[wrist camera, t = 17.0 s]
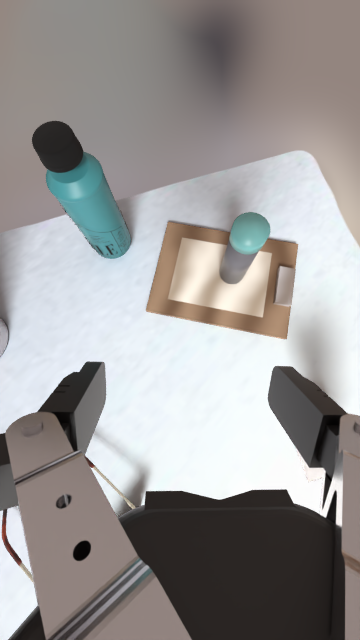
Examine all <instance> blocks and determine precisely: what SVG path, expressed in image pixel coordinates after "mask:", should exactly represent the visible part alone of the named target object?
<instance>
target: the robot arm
mask: <svg viewBox="0 0 360 640" xmlns="http://www.w3.org/2000/svg"><path fill="white" fill-rule="evenodd" d="M7 342H8V330H7V327H6V324H5V323H4V321H3V320H2V319H1V318H0V356H1V355H2V354H3V352H4V350H5V348H6V346H7ZM105 400H106V378H105V364H104V362H86V363H85V365H84V366H83V367H82V369H81V370H80V372H73V373H71V374H70V375H68V376H67V377H65V378H64V379H63V380H62V381H61V382H60V384H59V385H58V387H57V388H56V389H55V390H54V392H53V393H52V394H51V395H50V396H49V398H48V399H47V400H46V401H45V403H44V404H43V405H42V407H41V408H40V409H39V410H38V412H36V413H32V414H28V415H26V416H23V417H21V418H19V419H18V420H16V421H15V422H13V423H12V424H11V425H10V426H9V427H8V429H7V430H6V433H3V434H0V511H1V510H4V509H8V508H11V507H14V506H17V505H19V510H20V515H21V520H22V526H23V531H24V536H25V541H26V546H27V551H28V556H29V561H30V566H31V571H32V577H33V582H34V587H35V592H36V597H37V602H38V606H37V607H36V608H35V609H34V611H33V612H32V613H31V614H30V615H29V616H28V617H27V619H26V620H25V621H24V622H23V623H22V624H21V626H20V627H19V628H18V629H17V630H16V631H15V632H14V634H13V635H12V636H11V637H10V638H9V639H8V640H360V416H357V415H351V414H348V413H346V412H345V411H344V410H343V409H342V408H341V407H340V406H339V405H338V404H337V403H336V402H334V401H333V400H332V399H331V398H330V397H328V395H327V394H326V393H325V392H323V391H322V390H321V389H320V388H319V387H318V386H317V385H316V384H315V383H313V382H312V381H310V380H308V379H306V378H304V377H303V376H302V375H300V374H299V373H298V372H297V371H296V370H295V369H294V368H293V367H290V366H275V367H274V368H273V371H272V376H271V382H270V387H269V393H268V402H269V406H270V408H271V410H272V411H273V413H274V414H275V416H276V417H277V419H278V421H279V422H280V424H281V425H282V427H283V428H284V430H285V431H286V433H287V434H288V436H289V437H290V439H291V441H292V442H293V444H294V445H295V447H296V448H297V450H298V451H299V453H300V454H301V456H302V457H303V459H304V461H305V462H306V464H307V465H308V467H309V468H324V470H325V473H324V477H323V483H322V492H321V501H320V511H319V514H318V513H317V512H315V511H312V510H310V509H308V508H306V507H303V506H300V505H298V504H294V503H293V502H292V500H291V498H290V496H289V494H288V492H287V490H251V491H248V492H245V493H242V494H238V495H235V496H232V497H229V498H225V499H222V500H217V499H212V498H208V497H204V496H200V495H196V494H192V493H188V492H184V491H146V496H145V505H142V506H139V507H137V508H134V509H132V510H130V511H128V512H126V513H124V514H123V515H121V516H120V517H118V518H117V516H116V514H115V512H114V511H113V509H112V507H111V505H110V503H109V501H108V499H107V498H106V496H105V494H104V492H103V490H102V488H101V486H100V485H99V483H98V481H97V479H96V477H95V475H94V474H93V472H92V470H91V468H90V466H89V464H88V462H87V461H86V459H85V457H84V456H85V453H86V451H87V448H88V445H89V443H90V440H91V438H92V435H93V433H94V430H95V428H96V425H97V423H98V420H99V418H100V415H101V413H102V410H103V408H104V405H105Z"/></svg>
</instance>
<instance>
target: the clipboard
mask: <svg viewBox="0 0 360 640" xmlns="http://www.w3.org/2000/svg"><path fill="white" fill-rule="evenodd" d="M229 237H230V232H224V231H219V230H213V229H207V228H201V227H195V226H190V225H184V224H178V223H172V222H168V224H167V228H166V232H165V236H164V240H163V244H162V248H161V252H160V256H159V260H158V264H157V268H156V272H155V276H154V280H153V284H152V288H151V292H150V296H149V300H148V304H147V308H146V311H147V312H151V313H156V314H161V315H166V316H171V317H176V318H181V319H186V320H191V321H196V322H201V323H206V324H211V325H216V326H221V327H226V328H231V329H236V330H241V331H246V332H251V333H256V334H261V335H266V336H271V337H276V338H281V339H287V333H288V325H289V316H290V308H291V304H292V295H293V287H294V279H295V270H296V269H295V266H296V257H297V249H298V244H294V243H289V242H283V241H277V240H271V239H267V240H266V242H265V244H264V245H263V247H262V248H261V249H260V250H259V252H258V254H257V255H256V257H255V259H254V260H253V262H252V264H251V265H250V267H249V269H248V270H247V272H246V274H245V276H244V277H243V279H242V280H241V281H240V282H239V283H237V284H228V283H226V282H224V281H223V280H222V279H221V277H220V274H219V270H220V267H221V264H222V260H223V257H224V254H225V251H226V248H227V245H228V242H229Z"/></svg>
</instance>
